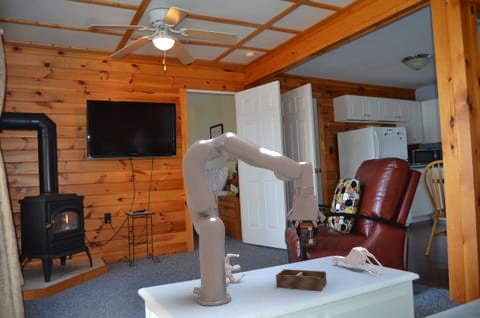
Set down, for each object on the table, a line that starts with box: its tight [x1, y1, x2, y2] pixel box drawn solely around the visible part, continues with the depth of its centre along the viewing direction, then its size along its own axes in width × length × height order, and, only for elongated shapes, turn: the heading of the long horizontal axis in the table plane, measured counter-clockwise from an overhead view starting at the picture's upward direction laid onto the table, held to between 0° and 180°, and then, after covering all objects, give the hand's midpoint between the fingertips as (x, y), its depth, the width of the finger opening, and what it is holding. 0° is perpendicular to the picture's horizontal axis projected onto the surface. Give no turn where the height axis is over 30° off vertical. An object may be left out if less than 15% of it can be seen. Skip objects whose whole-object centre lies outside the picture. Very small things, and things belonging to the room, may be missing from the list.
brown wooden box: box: [275, 268, 327, 292], centre depth 150 cm, size 18×10×5 cm, turn 65°
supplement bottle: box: [299, 220, 316, 247], centre depth 149 cm, size 6×6×11 cm
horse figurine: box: [331, 246, 383, 277], centre depth 169 cm, size 5×16×25 cm
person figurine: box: [197, 253, 246, 288], centre depth 158 cm, size 13×13×18 cm
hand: (307, 236), depth 149 cm, fingers closed on supplement bottle, 6 cm apart
